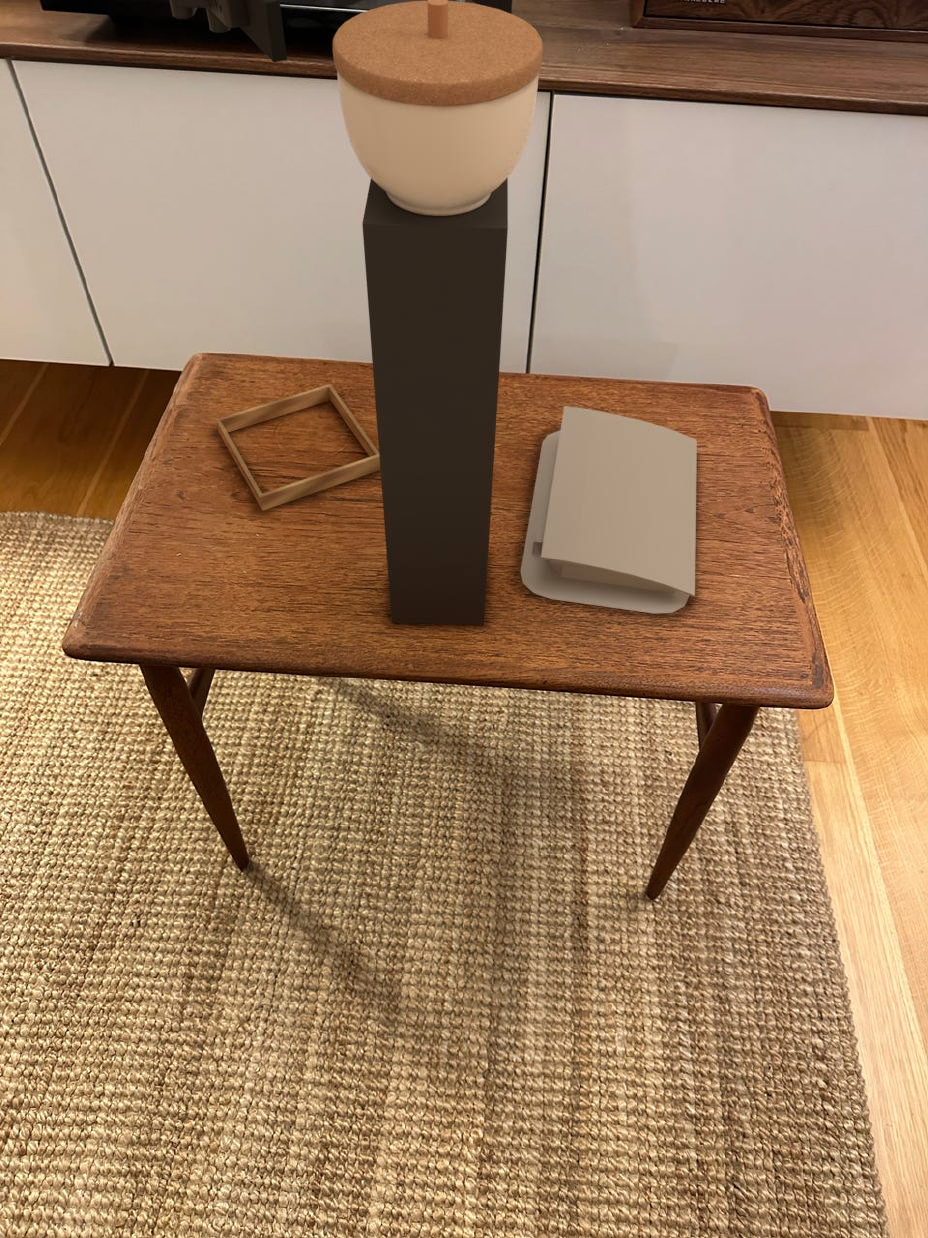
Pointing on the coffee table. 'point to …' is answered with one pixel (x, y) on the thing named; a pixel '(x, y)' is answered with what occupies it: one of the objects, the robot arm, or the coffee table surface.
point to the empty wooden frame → (310, 483)
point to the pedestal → (436, 397)
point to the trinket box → (438, 99)
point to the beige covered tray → (613, 514)
